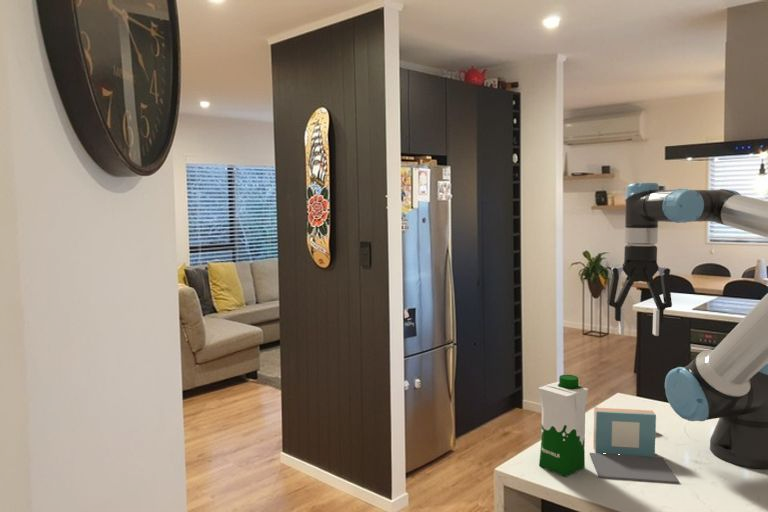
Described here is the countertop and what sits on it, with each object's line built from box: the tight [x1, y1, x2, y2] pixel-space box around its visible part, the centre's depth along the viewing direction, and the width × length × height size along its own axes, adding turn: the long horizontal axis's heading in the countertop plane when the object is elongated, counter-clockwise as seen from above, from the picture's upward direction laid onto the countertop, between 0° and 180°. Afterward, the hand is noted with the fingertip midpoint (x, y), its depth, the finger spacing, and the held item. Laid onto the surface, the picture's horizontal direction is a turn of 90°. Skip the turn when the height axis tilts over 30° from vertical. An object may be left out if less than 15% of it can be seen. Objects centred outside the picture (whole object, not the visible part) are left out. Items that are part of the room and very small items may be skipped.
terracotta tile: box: [592, 407, 657, 457], centre depth 137 cm, size 3×13×10 cm, turn 80°
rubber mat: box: [589, 452, 680, 484], centre depth 129 cm, size 12×16×1 cm
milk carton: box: [538, 374, 589, 478], centre depth 129 cm, size 9×9×20 cm
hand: (638, 334), depth 149 cm, fingers open, 8 cm apart
